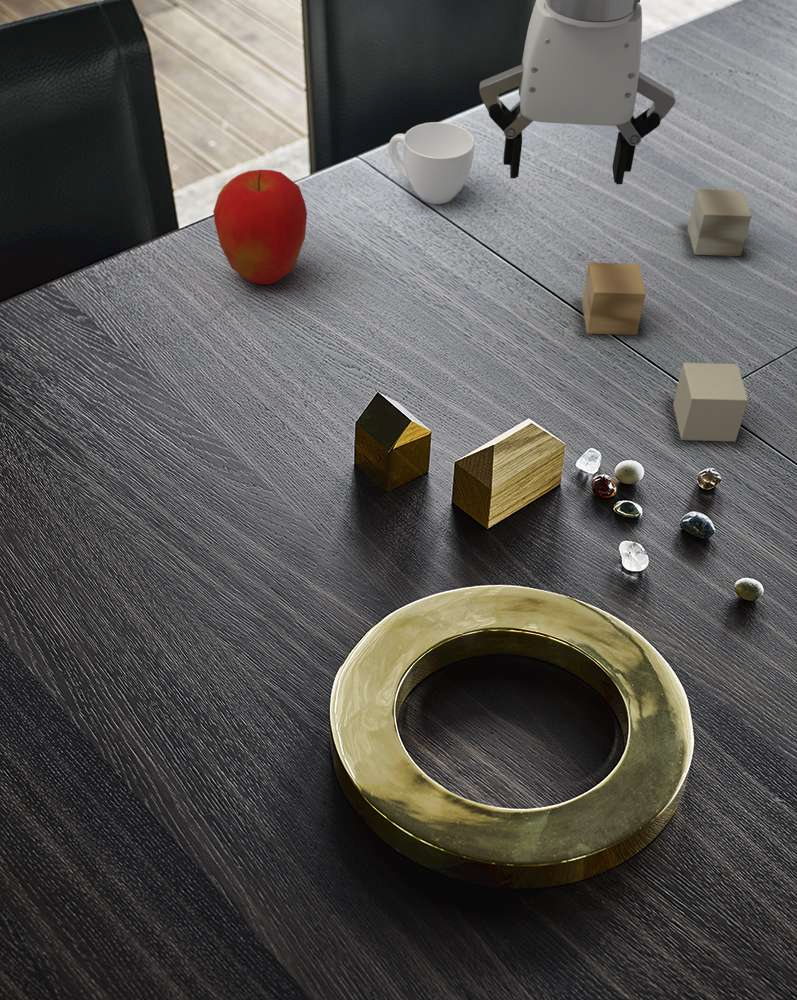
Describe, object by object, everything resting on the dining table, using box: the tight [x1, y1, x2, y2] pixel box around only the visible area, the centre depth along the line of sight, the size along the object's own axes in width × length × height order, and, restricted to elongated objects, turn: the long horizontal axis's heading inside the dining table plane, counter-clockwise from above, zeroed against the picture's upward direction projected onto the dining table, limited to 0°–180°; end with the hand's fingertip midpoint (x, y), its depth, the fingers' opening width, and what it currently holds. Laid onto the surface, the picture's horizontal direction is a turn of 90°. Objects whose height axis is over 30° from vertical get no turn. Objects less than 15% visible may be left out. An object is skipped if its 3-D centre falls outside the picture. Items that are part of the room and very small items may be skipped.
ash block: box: [687, 188, 752, 257], centre depth 134 cm, size 5×5×5 cm
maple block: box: [581, 262, 646, 336], centre depth 124 cm, size 5×5×5 cm
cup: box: [387, 121, 476, 205], centre depth 139 cm, size 8×10×7 cm
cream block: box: [672, 362, 749, 443], centre depth 113 cm, size 5×5×5 cm
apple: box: [213, 169, 308, 286], centre depth 125 cm, size 9×9×12 cm
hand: (565, 173), depth 117 cm, fingers open, 9 cm apart
